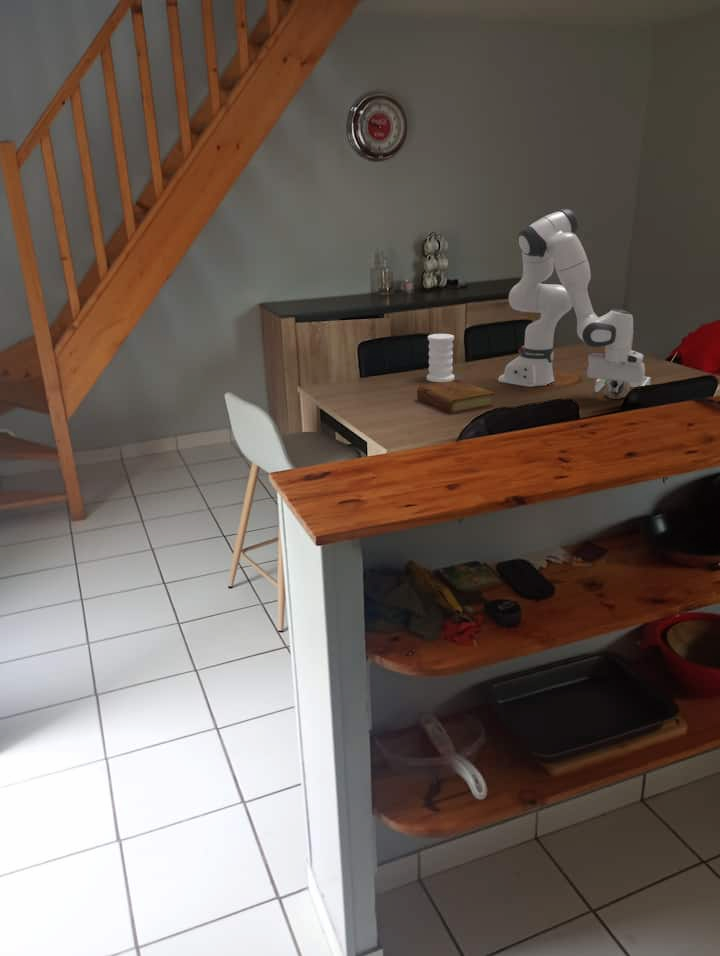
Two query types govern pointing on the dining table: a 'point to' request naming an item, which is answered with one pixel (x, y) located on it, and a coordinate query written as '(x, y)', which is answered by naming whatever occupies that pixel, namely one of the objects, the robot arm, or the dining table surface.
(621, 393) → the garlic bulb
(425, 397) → the diary
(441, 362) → the decorative container
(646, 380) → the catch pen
